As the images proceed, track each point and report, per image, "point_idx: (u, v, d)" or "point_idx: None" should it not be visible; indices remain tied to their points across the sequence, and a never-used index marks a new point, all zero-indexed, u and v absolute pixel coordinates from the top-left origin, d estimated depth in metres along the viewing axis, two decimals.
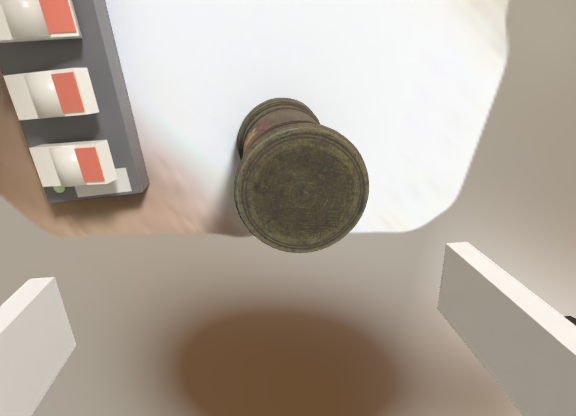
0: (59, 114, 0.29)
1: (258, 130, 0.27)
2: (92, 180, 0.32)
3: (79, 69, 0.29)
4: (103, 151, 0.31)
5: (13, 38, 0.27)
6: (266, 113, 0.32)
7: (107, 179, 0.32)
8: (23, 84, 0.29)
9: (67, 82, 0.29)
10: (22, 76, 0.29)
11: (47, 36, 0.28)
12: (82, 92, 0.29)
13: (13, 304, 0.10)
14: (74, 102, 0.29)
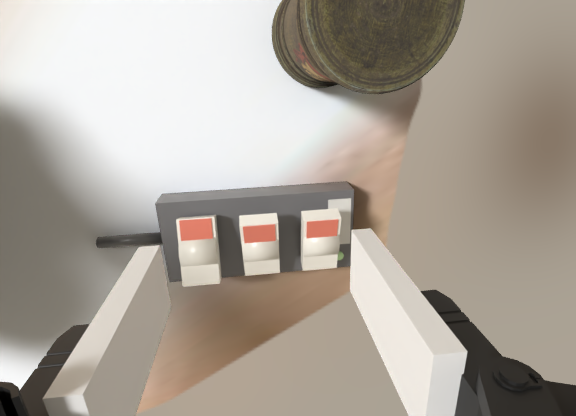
0: (276, 243, 0.34)
1: (304, 60, 0.24)
2: (336, 229, 0.34)
3: (240, 221, 0.33)
4: (311, 215, 0.34)
5: (217, 263, 0.35)
6: (287, 50, 0.29)
7: (337, 216, 0.34)
8: (252, 263, 0.36)
9: (251, 232, 0.34)
10: (245, 263, 0.36)
11: (215, 239, 0.35)
12: (259, 222, 0.33)
13: (136, 264, 0.12)
14: (267, 230, 0.33)
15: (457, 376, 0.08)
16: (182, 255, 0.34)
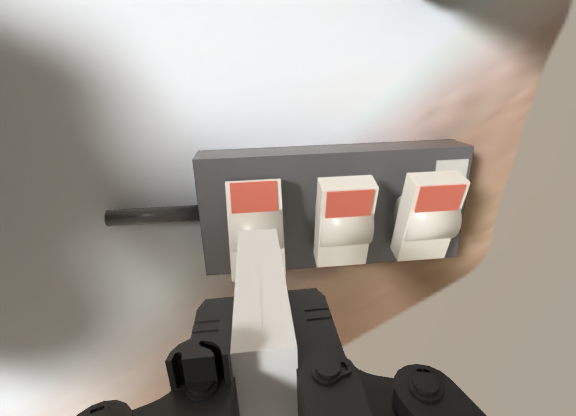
0: (372, 219, 0.23)
1: None
2: (459, 199, 0.23)
3: (322, 185, 0.22)
4: (425, 179, 0.23)
5: (283, 247, 0.24)
6: None
7: (463, 180, 0.23)
8: (329, 250, 0.25)
9: (337, 202, 0.23)
10: (321, 248, 0.25)
11: (280, 213, 0.24)
12: (351, 187, 0.22)
13: (246, 246, 0.13)
14: (362, 199, 0.22)
15: (291, 370, 0.08)
16: (233, 234, 0.23)
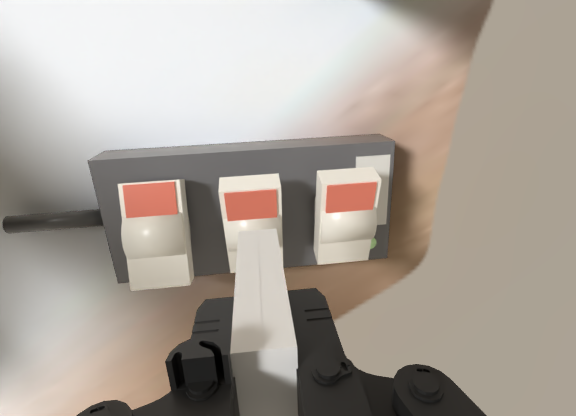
0: (279, 221, 0.22)
1: None
2: (372, 198, 0.22)
3: (221, 185, 0.21)
4: (333, 177, 0.21)
5: (185, 253, 0.22)
6: None
7: (374, 178, 0.21)
8: None
9: (238, 204, 0.21)
10: (231, 253, 0.23)
11: (182, 216, 0.22)
12: (251, 187, 0.21)
13: (246, 246, 0.13)
14: (264, 199, 0.21)
15: (291, 370, 0.08)
16: (127, 240, 0.21)
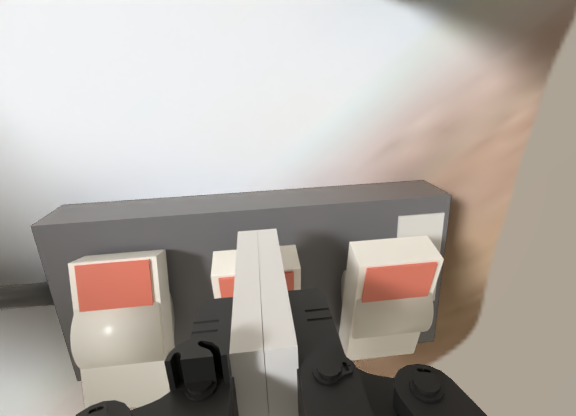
0: None
1: None
2: (429, 282, 0.15)
3: (215, 265, 0.15)
4: (375, 253, 0.15)
5: (164, 359, 0.15)
6: None
7: (433, 256, 0.15)
8: None
9: None
10: None
11: (160, 306, 0.16)
12: None
13: (246, 246, 0.13)
14: None
15: (292, 370, 0.08)
16: (78, 347, 0.14)
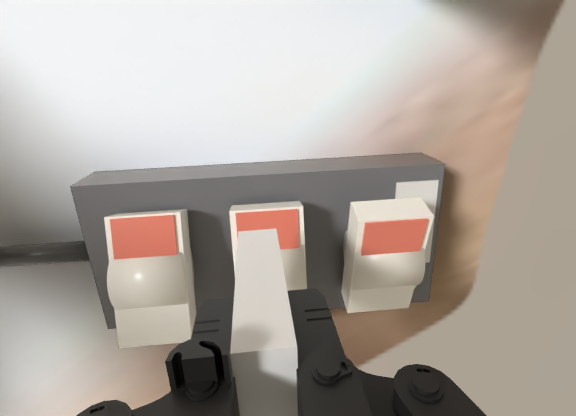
0: (301, 252, 0.18)
1: None
2: (421, 238, 0.17)
3: (232, 208, 0.18)
4: (372, 211, 0.17)
5: (186, 302, 0.18)
6: None
7: (425, 213, 0.17)
8: None
9: (251, 228, 0.17)
10: None
11: (183, 257, 0.18)
12: (267, 207, 0.18)
13: (246, 246, 0.13)
14: (283, 222, 0.17)
15: (291, 370, 0.08)
16: (114, 288, 0.17)
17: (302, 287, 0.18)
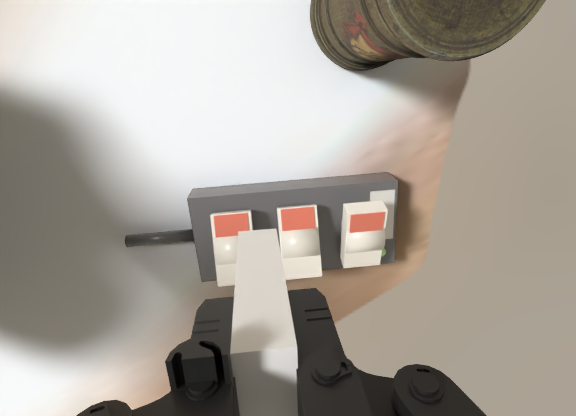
0: (316, 230, 0.32)
1: (358, 32, 0.22)
2: (382, 222, 0.32)
3: (278, 208, 0.33)
4: (355, 208, 0.32)
5: None
6: (331, 27, 0.27)
7: (383, 209, 0.31)
8: (290, 261, 0.33)
9: (289, 218, 0.32)
10: (284, 260, 0.33)
11: None
12: (297, 206, 0.32)
13: (246, 246, 0.13)
14: (306, 214, 0.32)
15: (291, 370, 0.08)
16: (217, 253, 0.31)
17: (317, 249, 0.32)
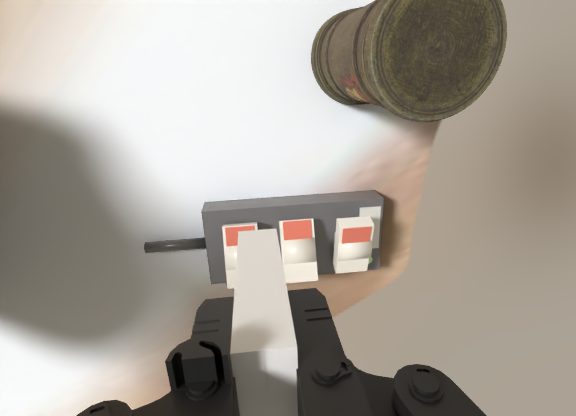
0: (313, 239, 0.38)
1: (352, 86, 0.27)
2: (369, 235, 0.37)
3: (280, 221, 0.38)
4: (346, 223, 0.37)
5: None
6: (330, 74, 0.32)
7: (370, 224, 0.37)
8: (290, 267, 0.38)
9: (289, 229, 0.38)
10: (285, 266, 0.38)
11: None
12: None
13: (246, 246, 0.13)
14: (304, 225, 0.38)
15: (291, 370, 0.08)
16: (228, 259, 0.36)
17: (314, 256, 0.37)
